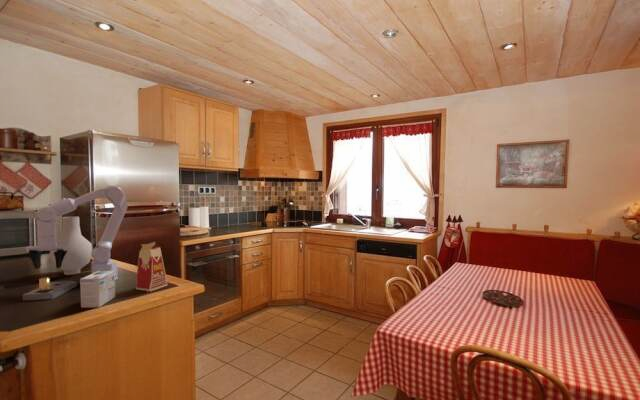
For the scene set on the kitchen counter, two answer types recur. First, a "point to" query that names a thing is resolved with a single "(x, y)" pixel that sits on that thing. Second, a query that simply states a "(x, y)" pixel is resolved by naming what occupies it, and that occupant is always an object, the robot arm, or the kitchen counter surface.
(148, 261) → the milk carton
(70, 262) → the vase
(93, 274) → the light bulb box
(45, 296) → the manifold plate
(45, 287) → the brass nipple
